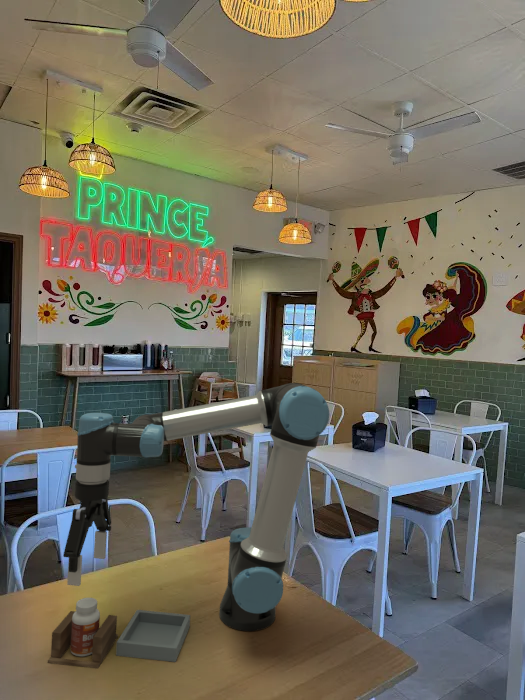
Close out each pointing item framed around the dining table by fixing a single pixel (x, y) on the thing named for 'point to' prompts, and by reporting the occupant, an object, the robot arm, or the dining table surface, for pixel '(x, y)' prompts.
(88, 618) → the pill bottle
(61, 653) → the wooden open frame
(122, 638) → the tray
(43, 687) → the dining table surface
